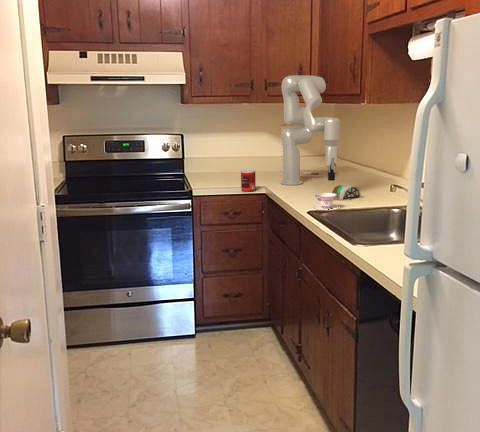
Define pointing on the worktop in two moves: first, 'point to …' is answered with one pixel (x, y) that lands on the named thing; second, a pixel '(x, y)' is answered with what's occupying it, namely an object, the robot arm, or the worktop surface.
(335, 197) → the mat
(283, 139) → the robot arm
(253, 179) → the canned food
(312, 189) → the worktop surface
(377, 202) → the worktop surface
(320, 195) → the teacup
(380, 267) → the worktop surface
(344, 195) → the food container
